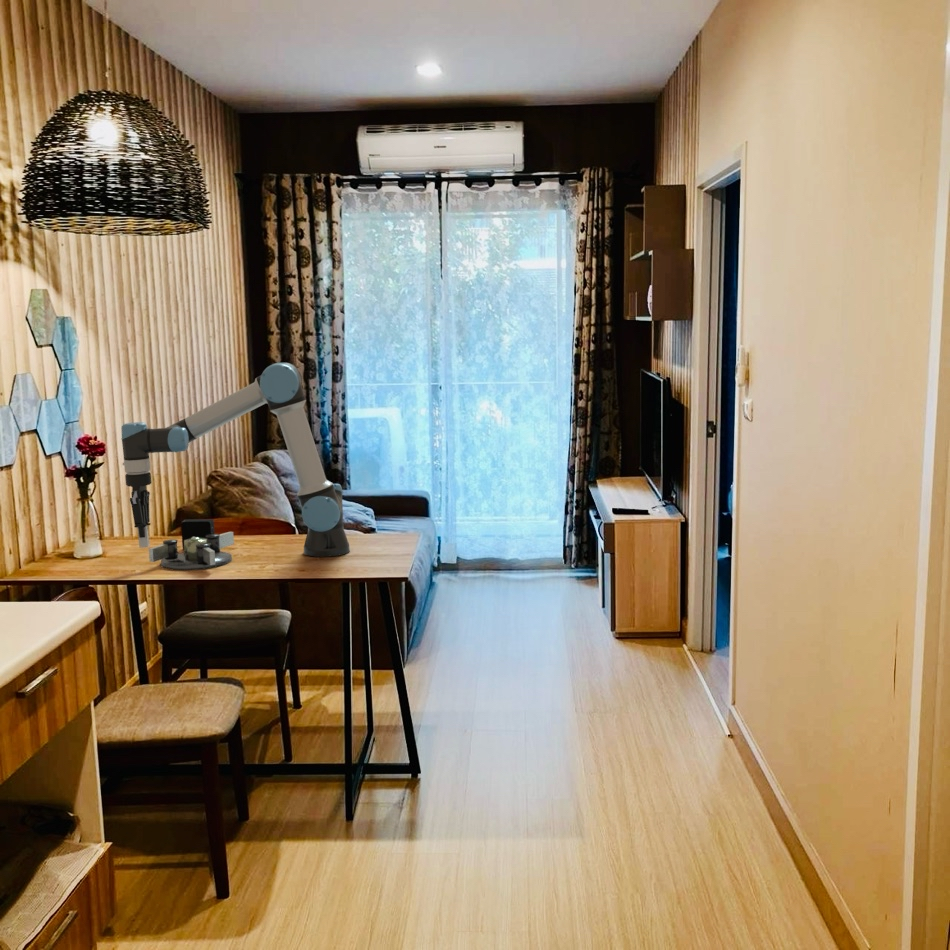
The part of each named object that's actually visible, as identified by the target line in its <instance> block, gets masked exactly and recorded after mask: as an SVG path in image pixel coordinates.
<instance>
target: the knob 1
mask: <svg viewBox="0 0 950 950" xmlns="http://www.w3.org/2000/svg"><path fill="white" fill-rule="evenodd" d="M178 554H179V552H178V539H175V538H174V539H164V540H162V543H161V544H160V545H156V546H152V547H148V558H149V562H152V563H155V562H158V561H161V560H162V559H164V558H165V559H166V560H172V559H177V558H178Z"/></svg>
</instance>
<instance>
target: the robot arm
mask: <svg viewBox="0 0 950 950" xmlns="http://www.w3.org/2000/svg"><path fill="white" fill-rule="evenodd" d="M301 373H302V372H301V371H300V370H299V369H298V367H297V366H295V365H294V364H292V363H290V362H286V361H285V362H283V361H282V362H277V363H273V364H270V365H269V366H267V367H266V368H265V369H264V370H263V371H262V373H261V374H260V375H259V376H257V377H256V378H255V379H254V382H252V383H250V384H248V385H247V386H245V387H243V388H241V389H238V390H237V391H235V392H232V393H231V394H229V395H228V396H226V397H224V398H221V399H219V400H217V401H216V402H214V403H211V404H210V405H208V406H206V407H204V408H202V409H200V410H198V411H195V413H193V414H191V415H189V416H187V417H185V418H184V419H181V420H179V421H177V422H175V423H172V424H171V425H169V426H166V427H162V428H160V427H159V428H148V426H147V422H143V421H142V422H141V421H140V422H126V423H123V424H122V426H121V439H120V440H121V443H122V453H123V462H122V466H124V472H125V473H126V474H125V475H124V476H125V485H126V486H127V487H132V490H131V497H130V498H129V503H130V505H131V511H132V518H133V522H134V528H137V534H138V535H137V536H138V547H139V548H150V537H149V526H151V522H150V495H151V494H150V491H149V490H148V489H147V486H150V485H152V473H151V472H150V471H151V469H152V468H151V461H150V454H152V453H153V454H154V453H155V454H156V453H178V452H179V453H181V452H185V451H187V450H188V448H189V445H190V443H191V442H193V441H195V440H196V439H199V438H201V437H202V436H205V435H206V434H208V433H211V432H213V431H214V430H217V429H218V428H220V427H222V426H224V425H226V424H228V423H230V422H232V421H234V420H236V419H238V418H240V417H242V416H243V415H245V414H248V413H250V412H251V411H253V410H255V409H258V408H259V407H261V406H263V405H265V404H267V405H268V408H269V412H270V413H272V414H274V415H276V418H277V420H278V424H279V426H280V427H279V428H280V429H281V432H282V436H283V439H284V442H285V445H286V448H287V452H288V456H289V458H290V461H291V463H292V467H293V470H294V473H295V475H296V479H297V482H298V485H299V490H298V492H297V493H296V496H297V499H298V501H299V504H300V508H301V518H302V521H303V523H304V524H305V525H306V526H307V533H306V536H305V540H304V545H303V554H304V555H306V556H309V557H314V558H315V557H316V558H317V557H318V558H322V557H323V558H325V557H328V558H329V557H335V556H336V557H337V556H338V557H339V556H342V555H345V554H347V553H349V552H350V548H351V547H350V543H349V541H348V537H347V535H346V532H345V528H344V509H343V489H342V485H341V484H340V483H333V482H331V481H330V480H328V479H327V476H326V474H325V471H324V468H323V464H322V462H321V458H320V455H319V452H318V450H317V446H316V444H315V440H314V437H313V434H312V431H311V430H312V429H311V427H310V424H309V421H308V418H307V417H308V416H307V414H306V411H305V407H304V406H305V405H306V402H307V398H306V395H305V392H304V389H303V376H302V374H301Z"/></svg>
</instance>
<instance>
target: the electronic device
mask: <svg viewBox="0 0 950 950" xmlns="http://www.w3.org/2000/svg"><path fill="white" fill-rule="evenodd" d="M180 528H181V531H180V532H181V542H182V543H181V545H182V550H183V551H185V548H184V540H186V539H191V538H192V537H199V538H206V535H209V534H215V521H214V519H211V518H203V519H202V518H201V519H200V518H197V519H194V518H193V519H184V520H182V521H181V523H180ZM206 539H207V538H206Z"/></svg>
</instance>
